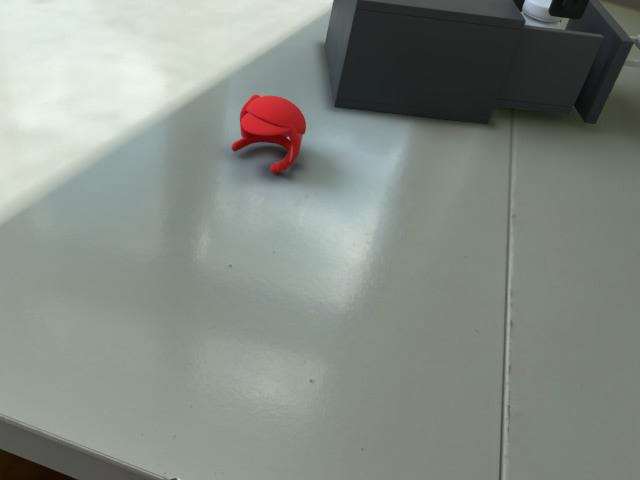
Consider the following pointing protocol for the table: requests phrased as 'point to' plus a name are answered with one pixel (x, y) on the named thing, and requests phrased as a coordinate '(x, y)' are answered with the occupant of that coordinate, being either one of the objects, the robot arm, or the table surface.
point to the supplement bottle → (540, 14)
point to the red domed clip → (272, 126)
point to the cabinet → (422, 55)
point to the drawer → (568, 65)
